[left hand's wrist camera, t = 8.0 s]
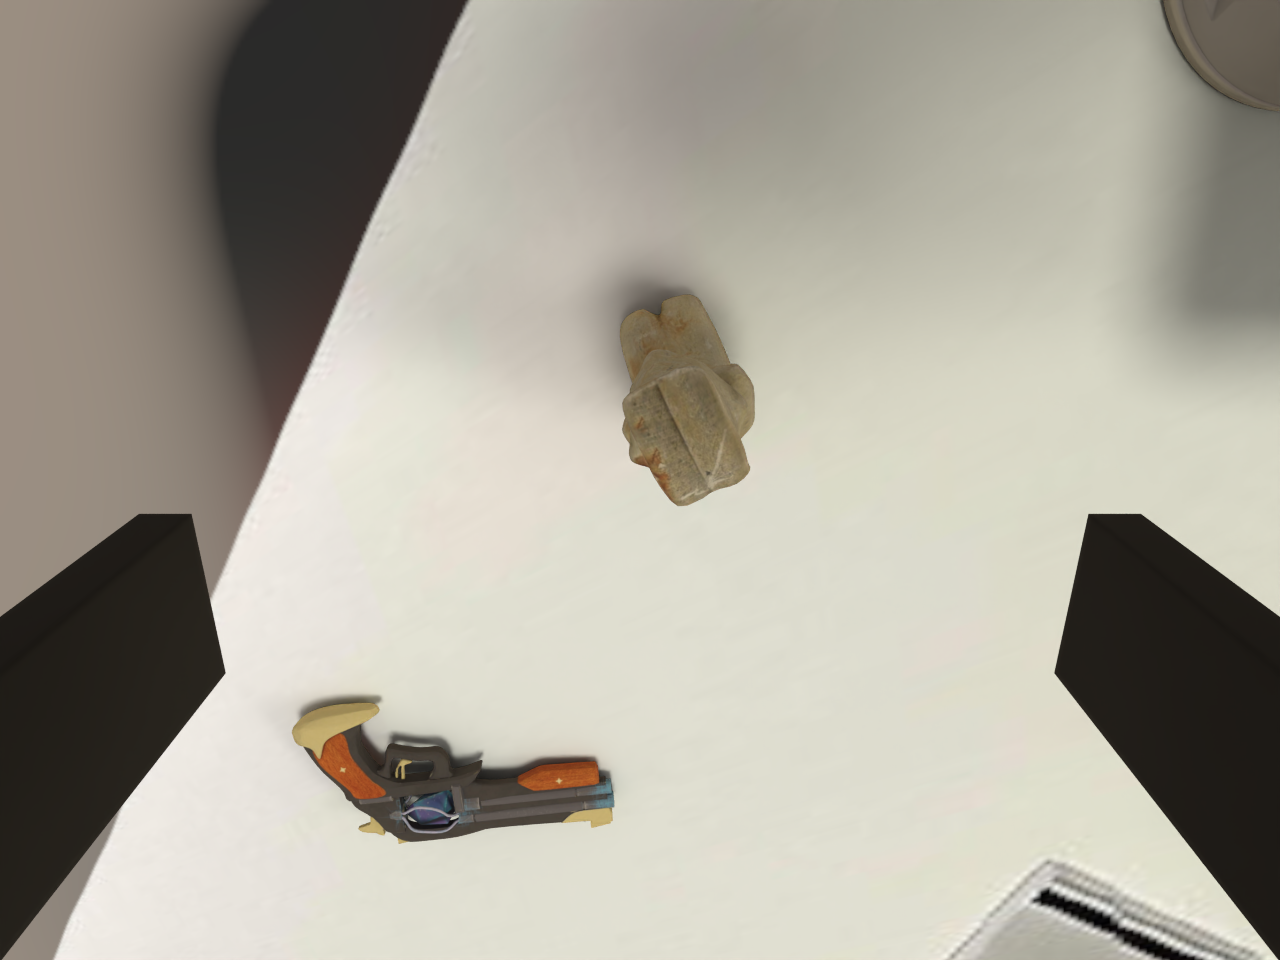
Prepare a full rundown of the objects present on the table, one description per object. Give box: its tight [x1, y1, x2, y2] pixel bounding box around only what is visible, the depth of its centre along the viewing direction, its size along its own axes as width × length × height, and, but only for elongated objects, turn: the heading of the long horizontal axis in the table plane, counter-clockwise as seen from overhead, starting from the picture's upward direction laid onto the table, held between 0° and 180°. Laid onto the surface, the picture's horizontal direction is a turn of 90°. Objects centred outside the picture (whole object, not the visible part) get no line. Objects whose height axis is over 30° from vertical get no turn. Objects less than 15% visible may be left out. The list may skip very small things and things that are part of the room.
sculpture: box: [620, 295, 755, 506], centre depth 37 cm, size 6×7×15 cm
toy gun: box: [292, 703, 614, 844], centre depth 53 cm, size 3×19×10 cm
